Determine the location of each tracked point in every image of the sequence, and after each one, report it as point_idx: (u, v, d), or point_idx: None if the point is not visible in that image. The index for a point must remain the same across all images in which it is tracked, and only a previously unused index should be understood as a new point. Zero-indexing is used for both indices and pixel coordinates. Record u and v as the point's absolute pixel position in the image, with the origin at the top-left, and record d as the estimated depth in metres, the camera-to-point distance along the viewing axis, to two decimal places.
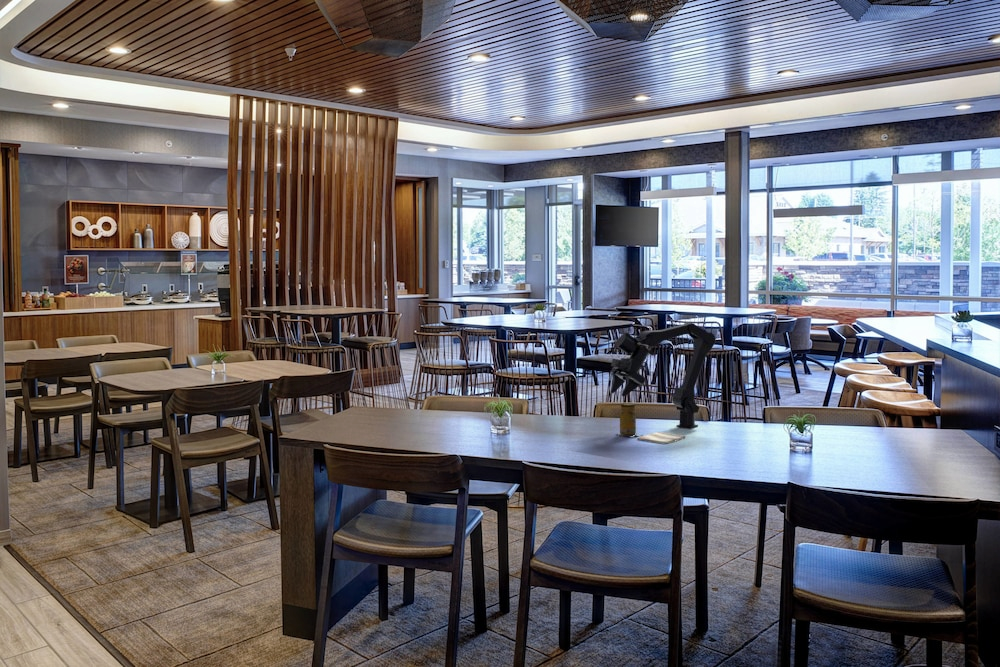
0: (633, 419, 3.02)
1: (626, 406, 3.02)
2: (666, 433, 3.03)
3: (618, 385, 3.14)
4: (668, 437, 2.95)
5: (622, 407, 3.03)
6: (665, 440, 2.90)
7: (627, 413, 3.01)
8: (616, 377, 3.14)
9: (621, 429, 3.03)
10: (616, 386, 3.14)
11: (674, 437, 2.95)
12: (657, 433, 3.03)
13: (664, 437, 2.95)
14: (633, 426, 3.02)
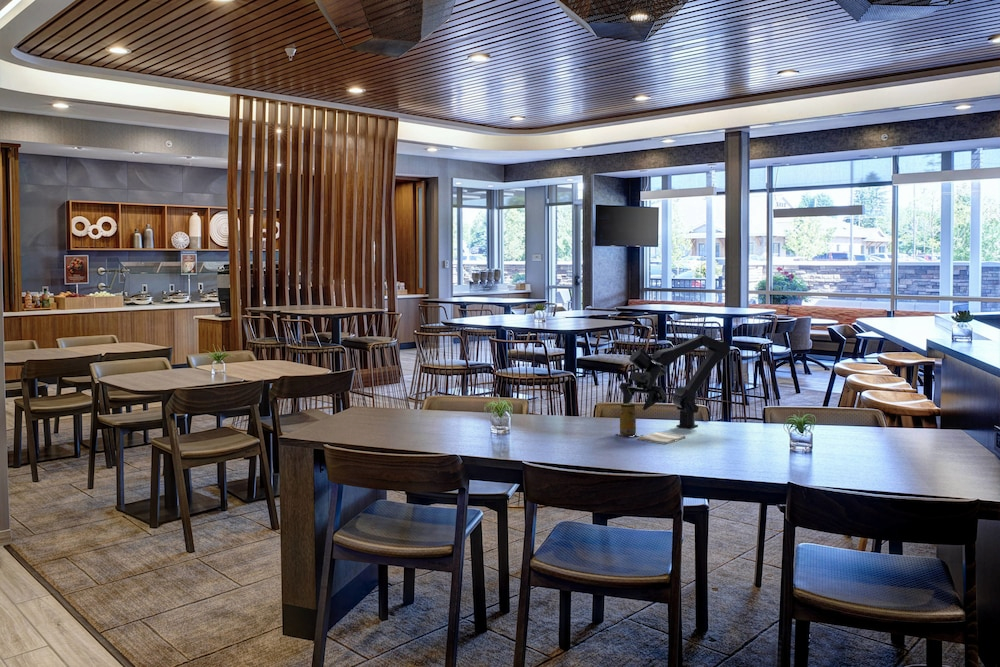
0: (633, 419, 3.02)
1: (626, 406, 3.02)
2: (666, 433, 3.03)
3: (628, 400, 3.11)
4: (668, 437, 2.95)
5: (622, 407, 3.03)
6: (665, 440, 2.90)
7: (627, 413, 3.01)
8: (627, 392, 3.11)
9: (621, 429, 3.03)
10: (626, 400, 3.11)
11: (674, 437, 2.95)
12: (657, 433, 3.03)
13: (664, 437, 2.95)
14: (633, 426, 3.02)
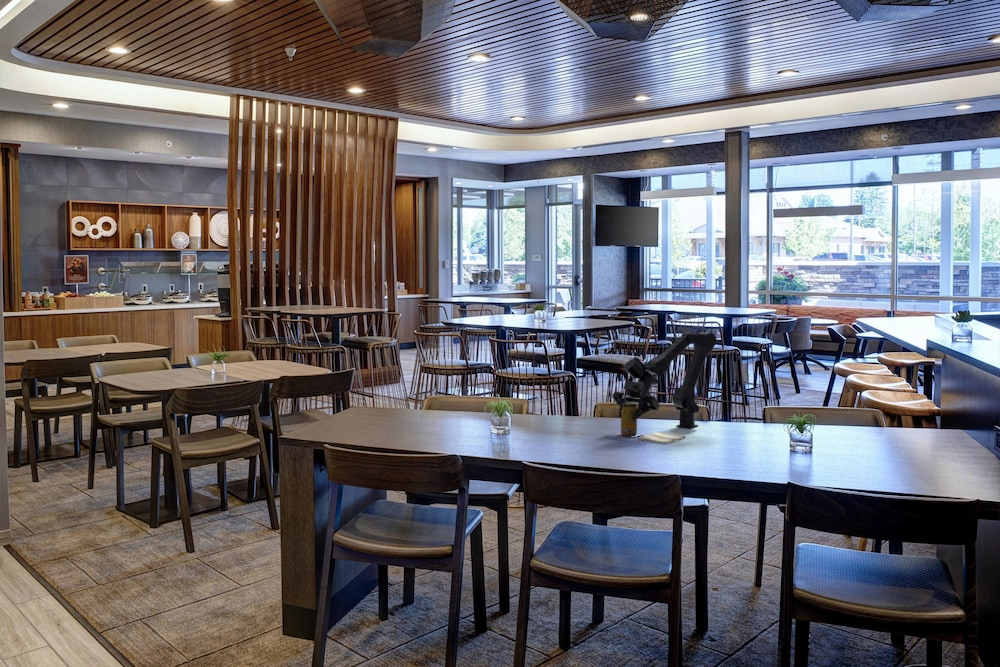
0: None
1: (628, 406, 3.01)
2: (666, 433, 3.03)
3: None
4: (668, 437, 2.95)
5: (624, 407, 3.02)
6: (665, 440, 2.90)
7: (628, 413, 3.01)
8: (624, 402, 3.07)
9: (622, 429, 3.03)
10: None
11: (674, 437, 2.95)
12: (657, 433, 3.03)
13: (664, 437, 2.95)
14: (634, 426, 3.02)
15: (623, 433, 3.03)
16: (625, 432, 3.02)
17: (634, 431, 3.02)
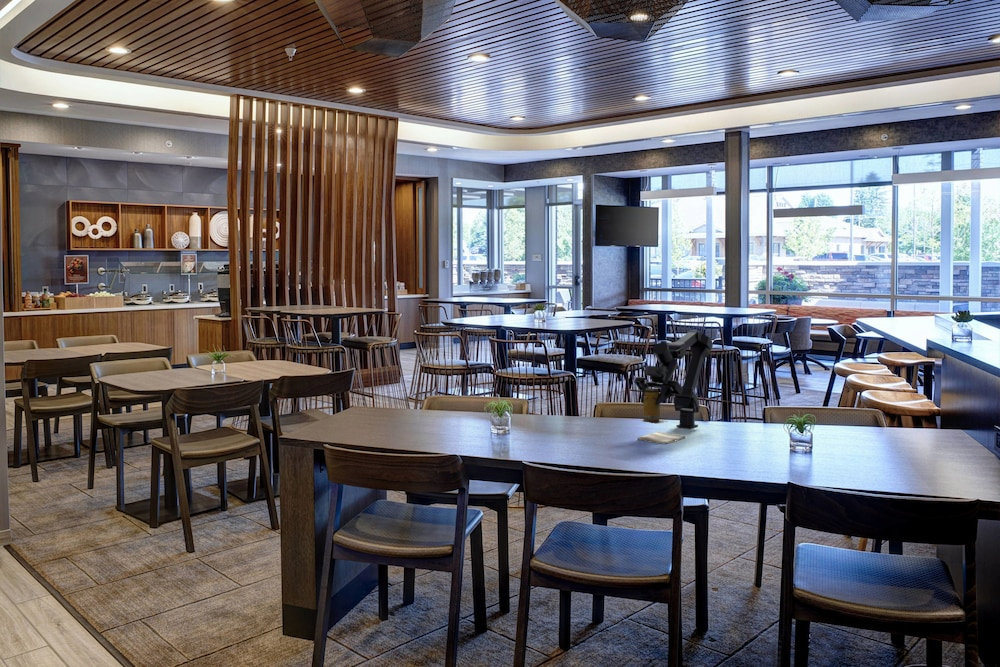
0: None
1: (650, 391, 2.95)
2: (666, 433, 3.03)
3: None
4: (668, 437, 2.95)
5: (646, 392, 2.96)
6: (665, 440, 2.90)
7: (651, 399, 2.95)
8: (646, 387, 3.01)
9: (644, 415, 2.97)
10: None
11: (674, 437, 2.95)
12: (657, 433, 3.03)
13: (664, 437, 2.95)
14: (657, 412, 2.96)
15: (646, 419, 2.97)
16: (648, 418, 2.96)
17: (657, 417, 2.96)
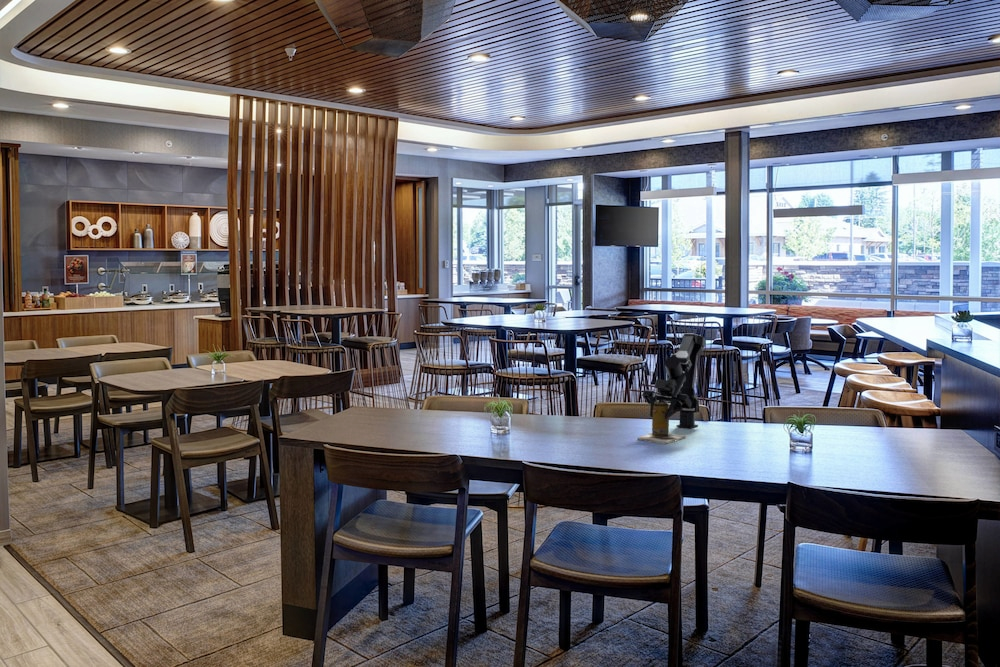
0: None
1: (659, 405, 2.93)
2: None
3: None
4: (668, 437, 2.95)
5: (655, 406, 2.94)
6: (665, 440, 2.90)
7: (660, 412, 2.93)
8: (655, 400, 2.99)
9: (654, 429, 2.95)
10: None
11: (674, 437, 2.95)
12: None
13: None
14: (666, 426, 2.94)
15: (655, 433, 2.95)
16: (657, 432, 2.94)
17: (666, 431, 2.94)
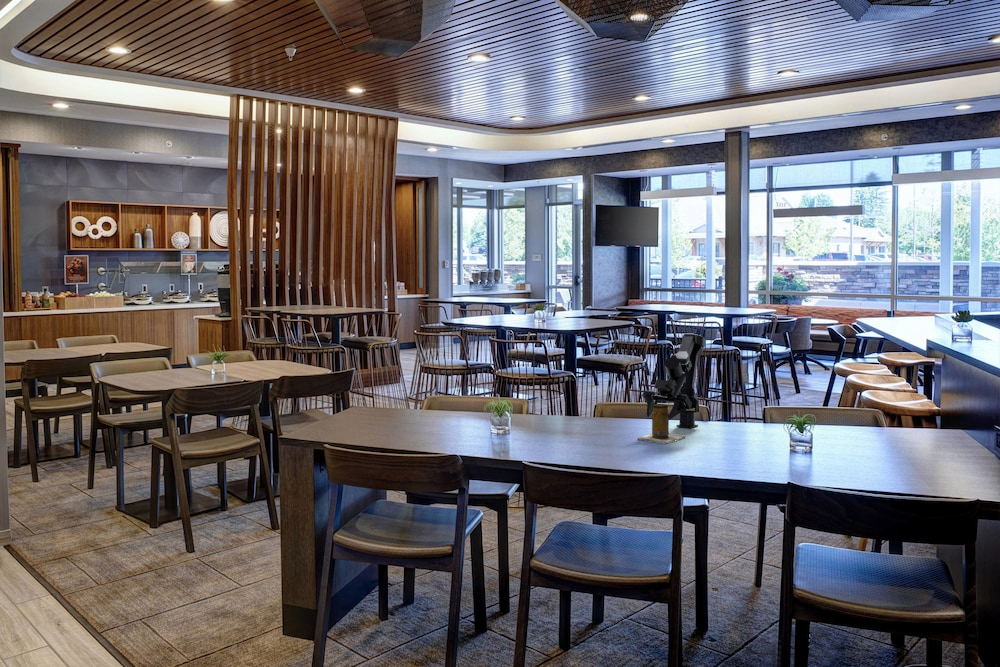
0: (666, 420, 2.94)
1: (659, 407, 2.93)
2: None
3: (652, 409, 3.00)
4: None
5: (655, 408, 2.94)
6: (665, 440, 2.90)
7: (660, 414, 2.93)
8: (651, 400, 3.00)
9: (653, 431, 2.95)
10: (650, 409, 2.99)
11: None
12: None
13: None
14: (666, 428, 2.94)
15: (655, 435, 2.95)
16: (657, 434, 2.94)
17: (666, 433, 2.94)
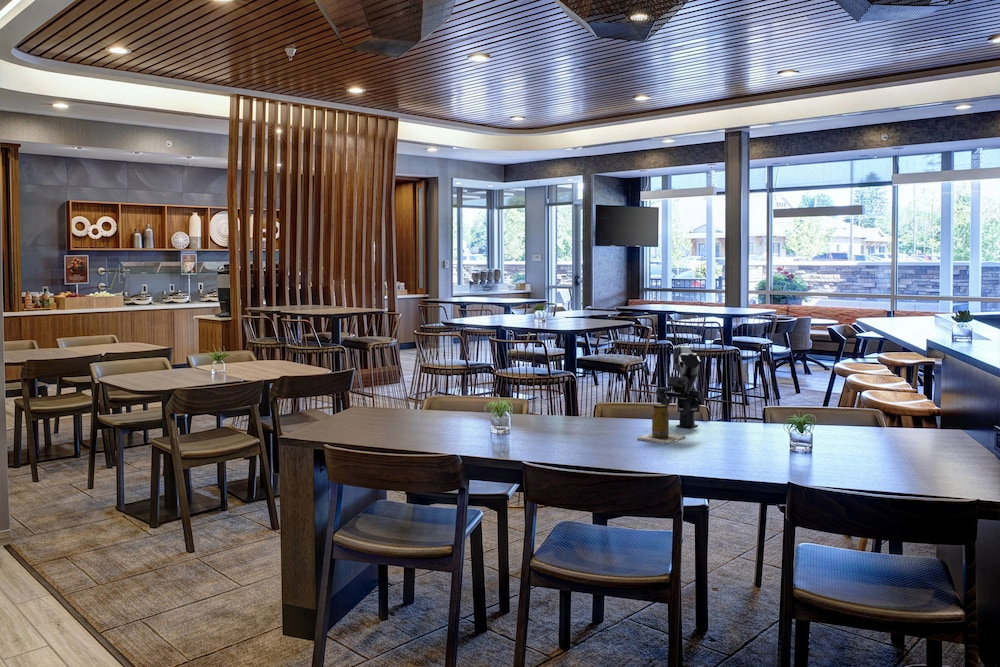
0: (666, 420, 2.94)
1: (659, 407, 2.93)
2: None
3: None
4: None
5: (655, 408, 2.94)
6: (665, 440, 2.90)
7: (660, 414, 2.93)
8: (665, 397, 3.07)
9: (653, 431, 2.95)
10: None
11: None
12: None
13: None
14: (666, 428, 2.94)
15: (655, 435, 2.95)
16: (657, 434, 2.94)
17: (666, 433, 2.94)
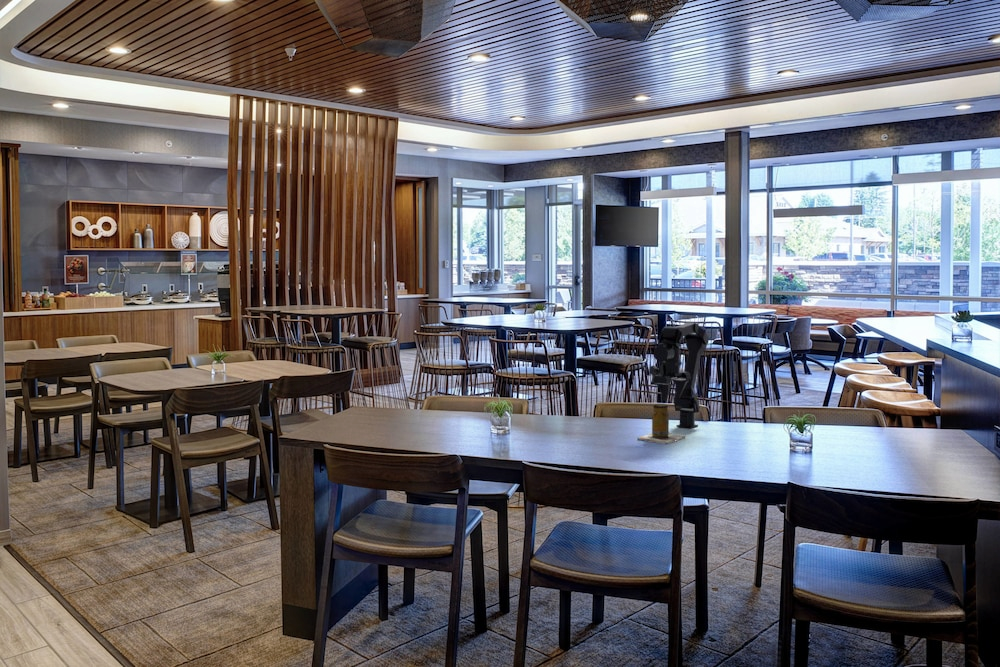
0: (666, 420, 2.94)
1: (659, 407, 2.93)
2: None
3: (680, 388, 3.09)
4: None
5: (655, 408, 2.94)
6: (665, 440, 2.90)
7: (660, 414, 2.93)
8: (675, 381, 3.10)
9: (653, 431, 2.95)
10: (679, 389, 3.09)
11: None
12: None
13: None
14: (666, 428, 2.94)
15: (655, 435, 2.95)
16: (657, 434, 2.94)
17: (666, 433, 2.94)
